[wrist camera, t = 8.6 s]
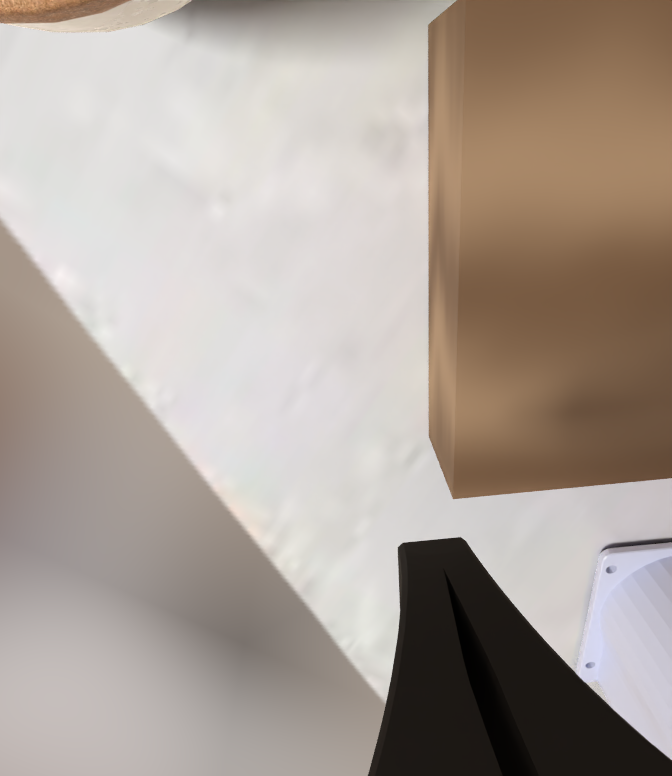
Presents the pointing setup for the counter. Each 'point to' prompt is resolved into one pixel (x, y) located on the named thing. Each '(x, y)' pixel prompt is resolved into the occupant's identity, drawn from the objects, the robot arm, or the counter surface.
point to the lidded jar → (84, 14)
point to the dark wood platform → (550, 243)
